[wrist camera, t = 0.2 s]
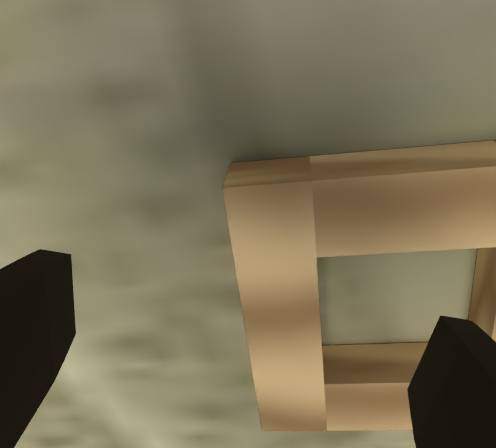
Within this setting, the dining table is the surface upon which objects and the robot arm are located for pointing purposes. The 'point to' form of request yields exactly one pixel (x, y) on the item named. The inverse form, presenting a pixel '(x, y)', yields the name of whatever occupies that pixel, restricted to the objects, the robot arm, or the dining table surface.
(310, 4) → the dining table surface
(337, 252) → the square wooden frame
